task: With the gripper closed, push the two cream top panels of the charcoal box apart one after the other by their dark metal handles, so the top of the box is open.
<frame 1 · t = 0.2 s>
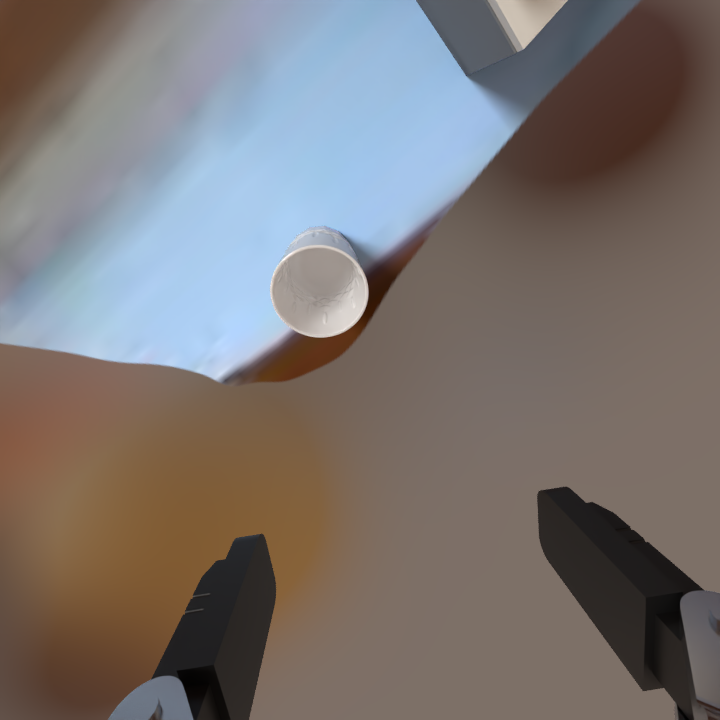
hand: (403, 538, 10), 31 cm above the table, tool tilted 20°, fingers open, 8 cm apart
white cup: (321, 258, 37), on the table
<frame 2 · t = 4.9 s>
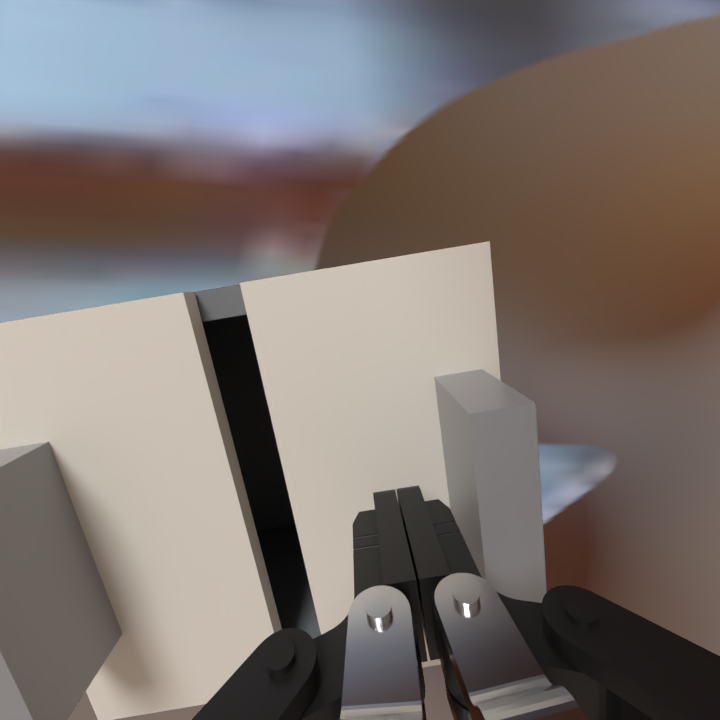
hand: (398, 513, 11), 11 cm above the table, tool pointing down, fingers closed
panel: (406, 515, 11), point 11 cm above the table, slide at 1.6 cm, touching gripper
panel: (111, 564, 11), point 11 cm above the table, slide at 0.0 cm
box: (290, 416, 22), on the table
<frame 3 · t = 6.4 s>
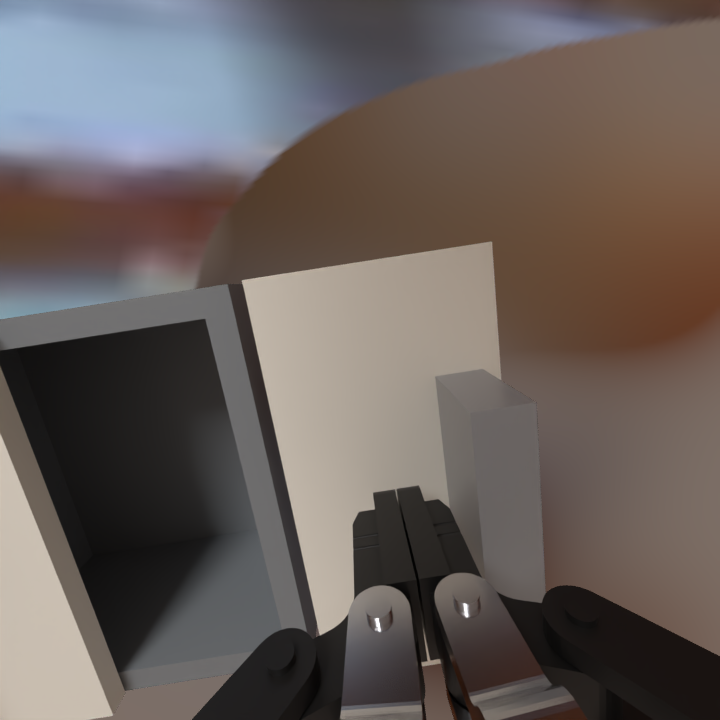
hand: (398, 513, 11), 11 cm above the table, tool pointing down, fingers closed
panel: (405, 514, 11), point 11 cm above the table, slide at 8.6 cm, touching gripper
box: (179, 432, 22), on the table
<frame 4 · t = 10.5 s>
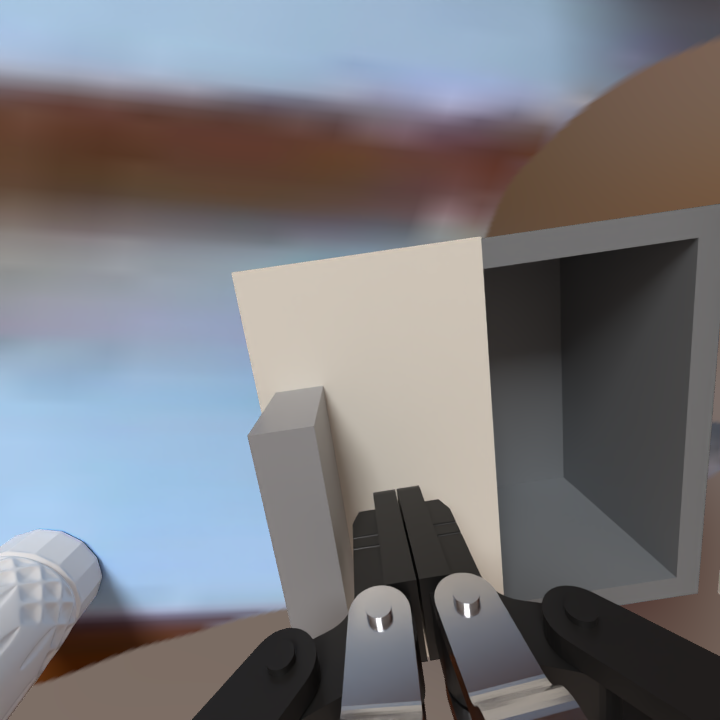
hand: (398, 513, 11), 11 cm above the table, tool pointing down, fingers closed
white cup: (54, 568, 24), on the table
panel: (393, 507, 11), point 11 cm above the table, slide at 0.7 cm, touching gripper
box: (443, 386, 22), on the table
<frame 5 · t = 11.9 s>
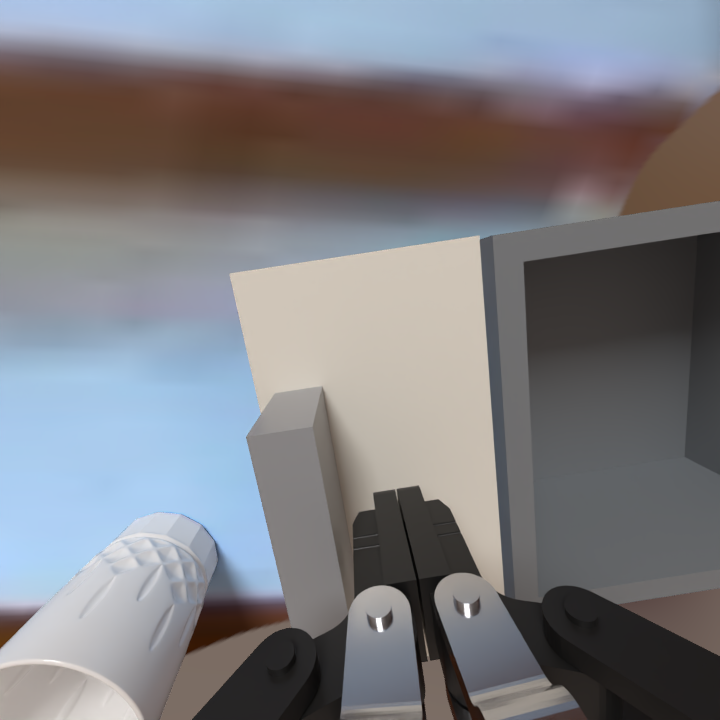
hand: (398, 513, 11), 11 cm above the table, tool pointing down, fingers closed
white cup: (170, 551, 24), on the table
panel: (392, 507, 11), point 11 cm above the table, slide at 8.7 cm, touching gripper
box: (567, 366, 22), on the table
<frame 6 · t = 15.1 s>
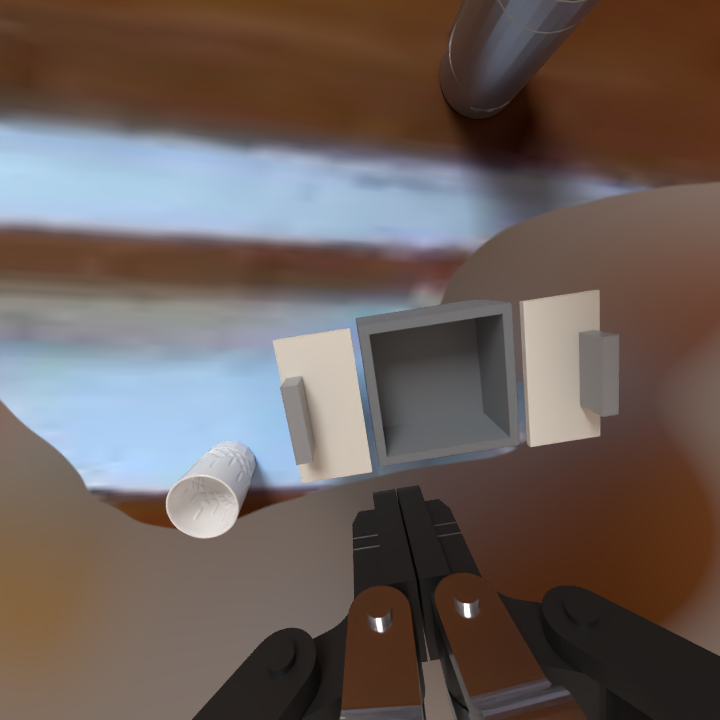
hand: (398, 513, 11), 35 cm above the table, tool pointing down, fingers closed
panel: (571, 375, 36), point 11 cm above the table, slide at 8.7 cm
white cup: (231, 461, 49), on the table
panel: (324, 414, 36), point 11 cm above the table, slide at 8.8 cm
box: (424, 368, 47), on the table
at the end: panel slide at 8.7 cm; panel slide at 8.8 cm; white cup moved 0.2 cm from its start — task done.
